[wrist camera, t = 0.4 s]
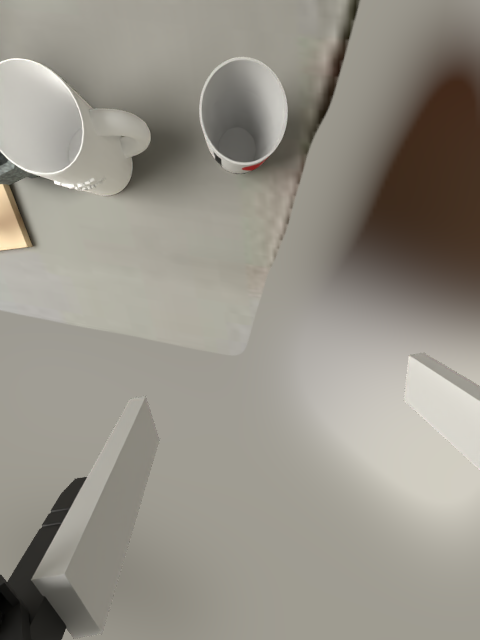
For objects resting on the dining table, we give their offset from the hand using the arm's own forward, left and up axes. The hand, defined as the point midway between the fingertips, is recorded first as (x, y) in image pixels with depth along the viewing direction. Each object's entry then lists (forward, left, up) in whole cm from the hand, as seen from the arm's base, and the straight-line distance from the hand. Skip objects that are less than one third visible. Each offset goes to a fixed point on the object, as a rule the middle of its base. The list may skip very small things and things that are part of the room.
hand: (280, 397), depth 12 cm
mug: (-19, -14, -27) cm, 36 cm away
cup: (-18, +2, -27) cm, 33 cm away
